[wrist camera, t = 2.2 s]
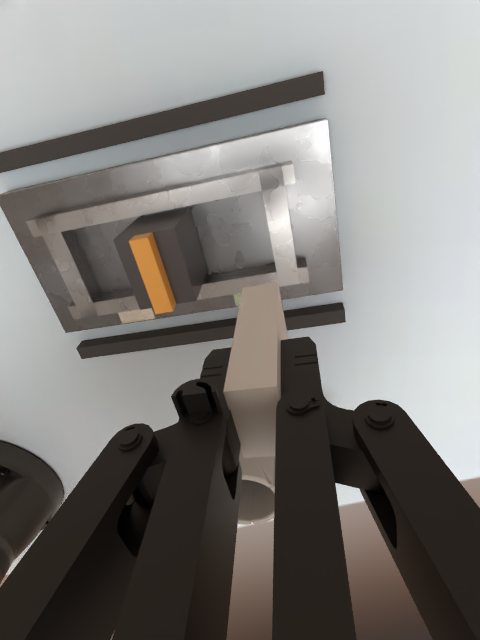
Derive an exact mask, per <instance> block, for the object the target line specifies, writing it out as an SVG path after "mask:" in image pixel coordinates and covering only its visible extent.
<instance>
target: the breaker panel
mask: <svg viewBox="0 0 480 640" xmlns="http://www.w3.org/2000/svg"><path fill="white" fill-rule="evenodd" d="M0 206H1V208H2V210H3V212H4V214H5V216H6V218H7V220H8V222H9V223H10V225H11V227H12V229H13V231H14V233H15V235H16V237H17V239H18V241H19V243H20V245H21V247H22V249H23V251H24V253H25V254H26V256H27V258H28V260H29V262H30V264H31V266H32V268H33V270H34V272H35V274H36V276H37V278H38V280H39V282H40V284H41V285H42V287H43V289H44V291H45V293H46V295H47V297H48V299H49V301H50V303H51V305H52V307H53V309H54V311H55V313H56V315H57V316H58V318H59V320H60V322H61V324H62V326H63V328H64V330H65V332H66V333H68V332H74V331H81V330H87V329H94V328H100V327H107V326H113V325H120V324H126V323H133V322H140V321H146V320H153V319H159V318H166V317H172V316H179V315H185V314H192V313H198V312H205V311H211V310H218V309H224V308H231V307H237V306H240V300H241V295H242V290H243V287H250V286H256V285H262V284H269V283H275V282H278V285H279V290H280V296H281V300H283V299H290V298H296V297H303V296H309V295H316V294H322V293H329V292H335V291H342V290H343V283H342V272H341V261H340V250H339V239H338V228H337V217H336V206H335V195H334V184H333V173H332V162H331V151H330V140H329V129H328V120H327V119H325V118H324V119H320V120H315V121H311V122H307V123H302V124H298V125H294V126H289V127H285V128H281V129H276V130H272V131H268V132H263V133H259V134H255V135H251V136H246V137H242V138H238V139H233V140H229V141H225V142H220V143H216V144H212V145H207V146H203V147H199V148H194V149H190V150H186V151H181V152H177V153H173V154H168V155H164V156H160V157H155V158H151V159H147V160H143V161H138V162H134V163H130V164H125V165H121V166H117V167H112V168H108V169H104V170H99V171H95V172H91V173H86V174H82V175H78V176H73V177H69V178H65V179H60V180H56V181H52V182H47V183H43V184H39V185H35V186H30V187H26V188H22V189H17V190H13V191H9V192H6V193H3V194H0ZM187 207H190V208H191V212H192V215H193V219H194V223H195V226H196V230H197V234H198V237H199V241H200V245H201V248H202V252H203V255H204V259H205V263H206V266H207V270H208V272H207V274H206V277H205V280H204V282H203V285H202V288H201V290H200V293H199V295H198V298H197V301H193V302H187V303H180V304H176V306H175V308H174V310H173V311H172V312H166V313H160V314H155V311H154V308H149V309H143V310H140V308H139V305H138V303H137V300H136V298H135V295H134V293H133V290H132V287H131V285H130V282H129V280H128V277H127V275H126V272H125V269H124V267H123V264H122V262H121V259H120V257H119V254H118V251H117V249H116V246H115V244H114V241H113V240H114V239H115V238H116V237H117V236H118V235H119V234H120V233H121V232H122V231H123V230H125V229H126V228H127V227H128V226H129V225H130V224H131V223H132V222H133V221H135V220H136V219H137V218H138V217H143V216H148V215H153V214H157V213H162V212H167V211H172V210H177V209H182V208H187Z"/></svg>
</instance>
